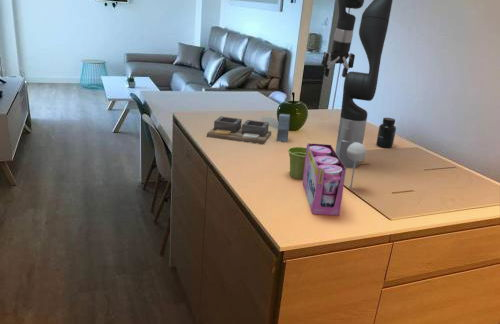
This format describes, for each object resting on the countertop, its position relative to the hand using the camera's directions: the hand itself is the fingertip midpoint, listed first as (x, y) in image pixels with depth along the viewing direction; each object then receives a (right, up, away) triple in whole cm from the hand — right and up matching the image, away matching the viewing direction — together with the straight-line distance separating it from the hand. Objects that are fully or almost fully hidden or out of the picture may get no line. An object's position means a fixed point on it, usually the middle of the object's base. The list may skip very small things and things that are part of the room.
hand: (334, 76), depth 197 cm
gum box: (-17, -49, -64) cm, 82 cm away
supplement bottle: (+19, -31, -8) cm, 38 cm away
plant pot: (-21, -43, -48) cm, 67 cm away
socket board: (-42, -27, -8) cm, 50 cm away
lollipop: (-5, -46, -55) cm, 72 cm away
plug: (-24, -29, -11) cm, 39 cm away
